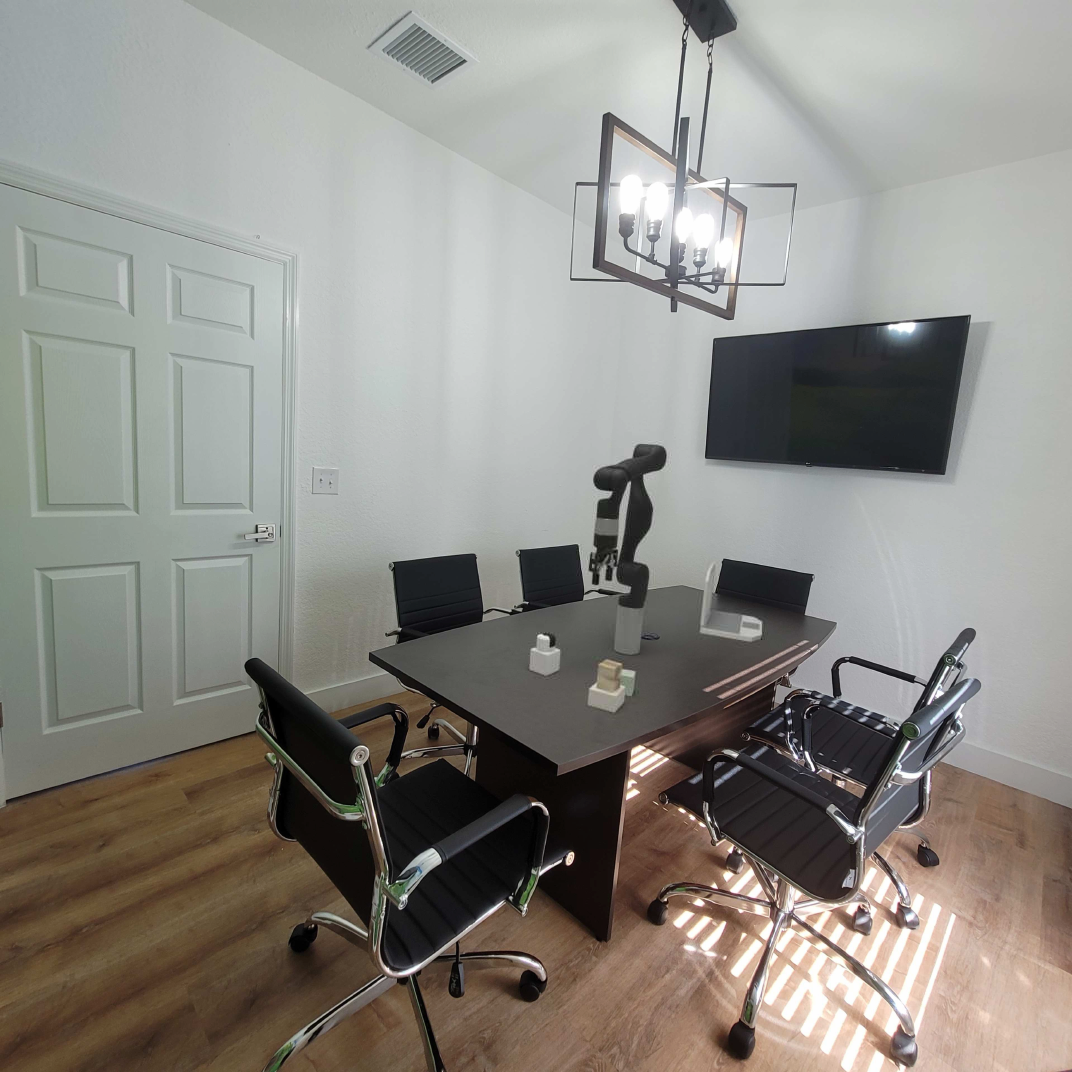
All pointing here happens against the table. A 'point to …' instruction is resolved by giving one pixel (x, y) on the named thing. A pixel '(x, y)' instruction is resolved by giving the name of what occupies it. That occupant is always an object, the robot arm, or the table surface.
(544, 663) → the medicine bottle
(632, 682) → the sage block
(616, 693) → the cream base block
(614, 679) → the maple block
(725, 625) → the laptop
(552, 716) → the table surface
